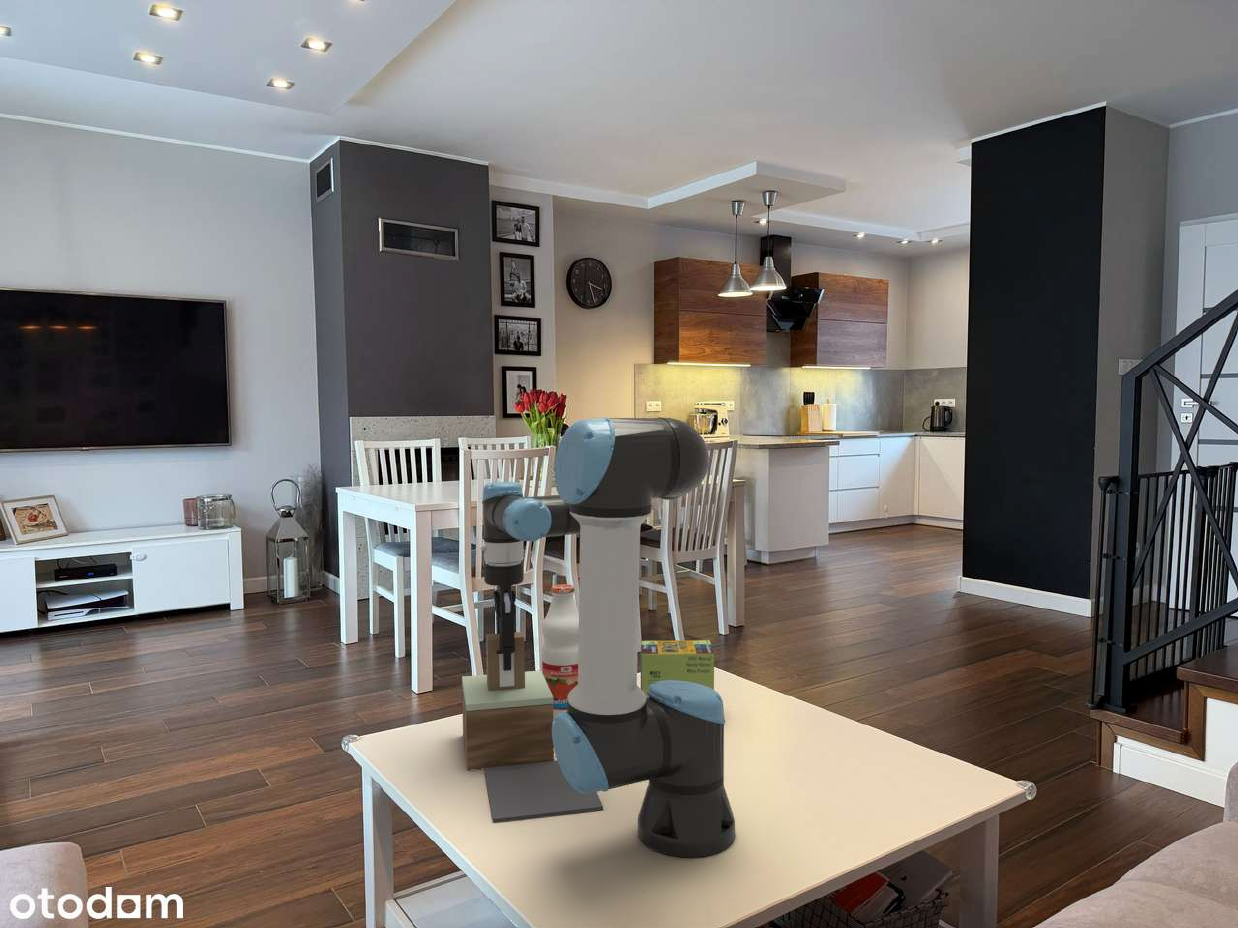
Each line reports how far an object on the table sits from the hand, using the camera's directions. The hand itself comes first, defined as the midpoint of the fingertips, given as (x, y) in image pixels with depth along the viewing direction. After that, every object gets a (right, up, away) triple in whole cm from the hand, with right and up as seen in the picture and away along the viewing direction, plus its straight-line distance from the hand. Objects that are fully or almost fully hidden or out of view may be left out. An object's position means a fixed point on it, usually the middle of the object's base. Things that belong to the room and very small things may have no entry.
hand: (505, 681), depth 165 cm
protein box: (+34, -12, +17) cm, 40 cm away
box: (0, -13, +1) cm, 13 cm away
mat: (+8, -14, -17) cm, 24 cm away
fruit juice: (+10, -12, +20) cm, 25 cm away
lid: (0, -2, 0) cm, 2 cm away
